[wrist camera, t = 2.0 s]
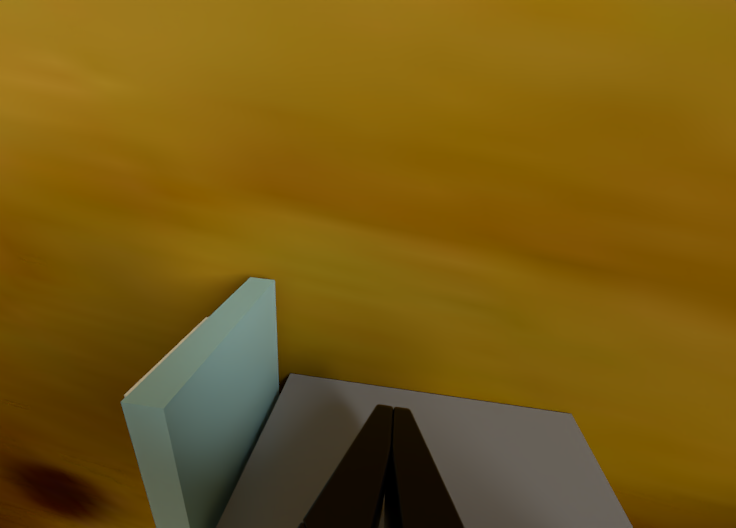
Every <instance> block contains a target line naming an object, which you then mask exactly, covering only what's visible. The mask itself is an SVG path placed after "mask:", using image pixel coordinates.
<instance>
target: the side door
mask: <svg viewBox="0 0 736 528" xmlns="http://www.w3.org/2000/svg"><path fill="white" fill-rule="evenodd" d="M278 398H279V374H278V349H277V323H276V298H275V280H269V279H261V278H253V277H250V278H249V279H248V280H247V281H246V282H245V283H244V284H243V285H242V286H241V287H239V288H238V289H237V290H236V291H235V292H234V293H233V294H232V295H231V296H230V297H229V298H228V299H227V300H226V301H225V302H224V303H223V304H222V305H221V306H220V307H219V308H218V309H217V310H216V311H215V312H214V313H212V314H211V315H210V316H209V317H206V318H204V319H203V320H202V321H201V322H200V323H199V324H198V325H197V326H196V327H195V328H194V329H193V330H192V331H191V332H190V333H189V334H188V335H187V336H186V337H184V338H183V339H182V340H181V341H180V342H179V343H178V344H177V345H176V346H175V347H174V348H173V349H172V350H171V351H170V352H169V353H168V354H167V355H166V356H164V357H163V358H162V359H161V360H160V361H159V362H158V363H157V364H156V365H155V366H154V367H153V368H152V369H151V370H150V371H149V372H148V373H147V374H146V375H144V376H143V377H142V378H141V379H140V380H139V381H138V382H137V383H136V384H135V385H134V386H133V387H132V388H131V389H130V390H129V391H128V392H127V393H126V394H124V399H123V400H122V401H121V405H122V409H123V412H124V416H125V419H126V423H127V426H128V430H129V433H130V437H131V440H132V444H133V447H134V451H135V454H136V458H137V461H138V465H139V469H140V472H141V476H142V479H143V483H144V486H145V490H146V493H147V497H148V500H149V504H150V507H151V511H152V514H153V518H154V521H155V525H156V528H216V526H217V524H218V522H219V520H220V518H221V516H222V514H223V512H224V510H225V508H226V506H227V504H228V501H229V499H230V497H231V495H232V493H233V491H234V489H235V487H236V485H237V483H238V481H239V479H240V477H241V475H242V472H243V470H244V468H245V466H246V464H247V462H248V460H249V458H250V456H251V454H252V452H253V450H254V448H255V446H256V444H257V441H258V439H259V437H260V435H261V433H262V431H263V429H264V427H265V425H266V423H267V421H268V419H269V417H270V415H271V413H272V410H273V408H274V406H275V404H276V402H277V400H278Z"/></svg>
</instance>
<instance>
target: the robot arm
mask: <svg viewBox="0 0 736 528" xmlns="http://www.w3.org/2000/svg"><path fill="white" fill-rule="evenodd" d="M384 495H385V497H384ZM383 502H384V528H465V527H464V525H463V523H462V521H461V518H460V516H459V514H458V512H457V510H456V508H455V505H454V503H453V501H452V499H451V497H450V494H449V492H448V490H447V488H446V486H445V484H444V481H443V479H442V477H441V475H440V473H439V471H438V468H437V466H436V464H435V462H434V460H433V457H432V455H431V453H430V451H429V449H428V447H427V444H426V442H425V440H424V438H423V436H422V434H421V431H420V429H419V427H418V425H417V423H416V420H415V418H414V416H413V414H412V412H411V410H410V409H409V408H403V407H394V409H393V407H392V406H390V405H383V404H378V405H376V407H375V408H374V410H373V411H372V413H371V414H370V416H369V417H368V419H367V420H366V422H365V424H364V425H363V427H362V428H361V430H360V431H359V433H358V434H357V436H356V437H355V439H354V441H353V442H352V444H351V445H350V447H349V448H348V450H347V451H346V453H345V454H344V456H343V458H342V459H341V461H340V462H339V464H338V465H337V467H336V468H335V470H334V472H333V473H332V475H331V476H330V478H329V479H328V481H327V482H326V484H325V485H324V487H323V489H322V490H321V492H320V493H319V495H318V496H317V498H316V499H315V501H314V502H313V504H312V506H311V507H310V509H309V510H308V512H307V513H306V515H305V516H304V518H303V522H301V523H300V524H299V525H298V527H297V528H379V524H380V519H381V514H382V508H383Z"/></svg>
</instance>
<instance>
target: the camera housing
mask: <svg viewBox="0 0 736 528" xmlns="http://www.w3.org/2000/svg"><path fill="white" fill-rule="evenodd" d="M378 404H383V405H390V406H392V407H393V409H394V407H403V408H409V409H410V410H411V412H412V414H413V416H414V418H415V420H416V423H417V425H418V427H419V429H420V431H421V434H422V436H423V438H424V440H425V442H426V444H427V447H428V449H429V451H430V453H431V455H432V457H433V460H434V462H435V464H436V466H437V468H438V471H439V473H440V475H441V477H442V479H443V481H444V484H445V486H446V488H447V490H448V492H449V494H450V497H451V499H452V501H453V503H454V505H455V508H456V510H457V512H458V514H459V516H460V518H461V521H462V523H463V525H464V527H465V528H633V527H632V525H631V523H630V521H629V520H628V518H627V516H626V514H625V512H624V510H623V508H622V507H621V505H620V503H619V501H618V499H617V497H616V496H615V494H614V492H613V490H612V488H611V486H610V484H609V483H608V481H607V479H606V477H605V475H604V473H603V472H602V470H601V468H600V466H599V464H598V462H597V460H596V459H595V457H594V455H593V453H592V451H591V449H590V448H589V446H588V444H587V442H586V440H585V438H584V436H583V435H582V433H581V431H580V429H579V427H578V425H577V424H576V422H575V420H574V418H573V416H572V414H568V413H561V412H555V411H548V410H541V409H534V408H527V407H520V406H513V405H506V404H499V403H492V402H485V401H478V400H471V399H465V398H458V397H451V396H444V395H437V394H430V393H423V392H416V391H409V390H402V389H395V388H388V387H381V386H375V385H368V384H361V383H354V382H347V381H340V380H333V379H326V378H319V377H312V376H305V375H298V374H291V373H290V375H289V377H288V379H287V381H286V384H285V386H284V388H283V390H282V392H281V394H280V396H279V398H278V400H277V402H276V404H275V406H274V408H273V410H272V413H271V415H270V417H269V419H268V421H267V423H266V425H265V427H264V429H263V431H262V433H261V435H260V437H259V439H258V441H257V444H256V446H255V448H254V450H253V452H252V454H251V456H250V458H249V460H248V462H247V464H246V466H245V468H244V470H243V472H242V475H241V477H240V479H239V481H238V483H237V485H236V487H235V489H234V491H233V493H232V495H231V497H230V499H229V501H228V504H227V506H226V508H225V510H224V512H223V514H222V516H221V518H220V520H219V522H218V524H217V526H216V528H297V527H298V525H299V524H300V523H301V522H303V518H304V516H305V515H306V513H307V512H308V510H309V509H310V507H311V506H312V504H313V502H314V501H315V499H316V498H317V496H318V495H319V493H320V492H321V490H322V489H323V487H324V485H325V484H326V482H327V481H328V479H329V478H330V476H331V475H332V473H333V472H334V470H335V468H336V467H337V465H338V464H339V462H340V461H341V459H342V458H343V456H344V454H345V453H346V451H347V450H348V448H349V447H350V445H351V444H352V442H353V441H354V439H355V437H356V436H357V434H358V433H359V431H360V430H361V428H362V427H363V425H364V424H365V422H366V420H367V419H368V417H369V416H370V414H371V413H372V411H373V410H374V408H375V407H376V405H378ZM384 497H385V495H384ZM379 528H384V502H383V508H382V514H381V519H380V524H379Z"/></svg>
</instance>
